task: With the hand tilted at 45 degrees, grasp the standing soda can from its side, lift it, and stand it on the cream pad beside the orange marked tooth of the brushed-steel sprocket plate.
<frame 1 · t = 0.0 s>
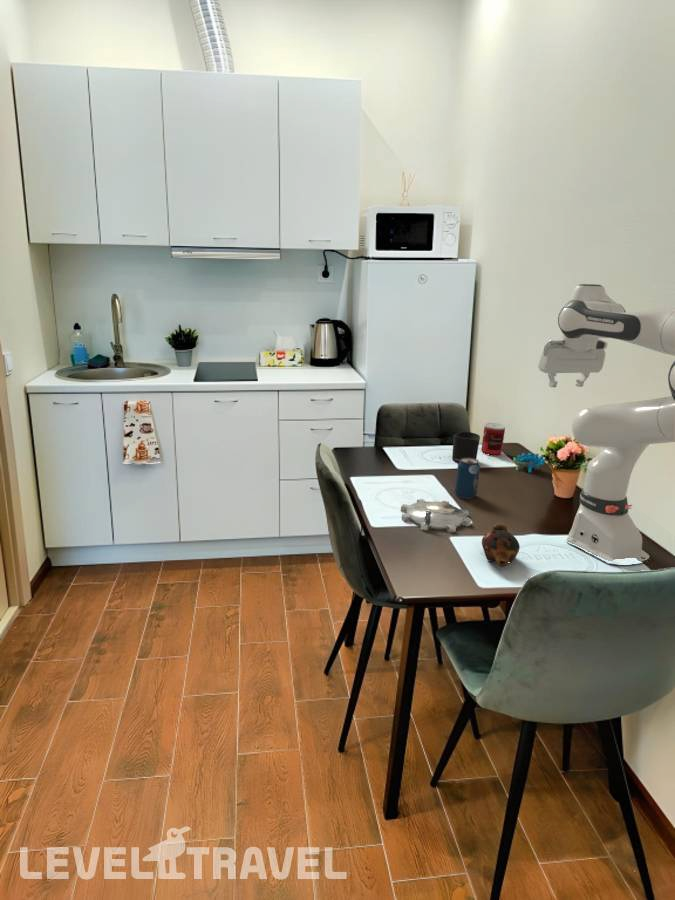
hand: (565, 386, 200), 39 cm above the table, tool pointing down, fingers open, 8 cm apart
canned food: (491, 453, 264), on the table
decorative turtle: (498, 560, 177), on the table
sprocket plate: (435, 517, 200), on the table
soda can: (465, 495, 219), on the table
pen holder: (463, 461, 252), on the table
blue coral: (527, 470, 247), on the table
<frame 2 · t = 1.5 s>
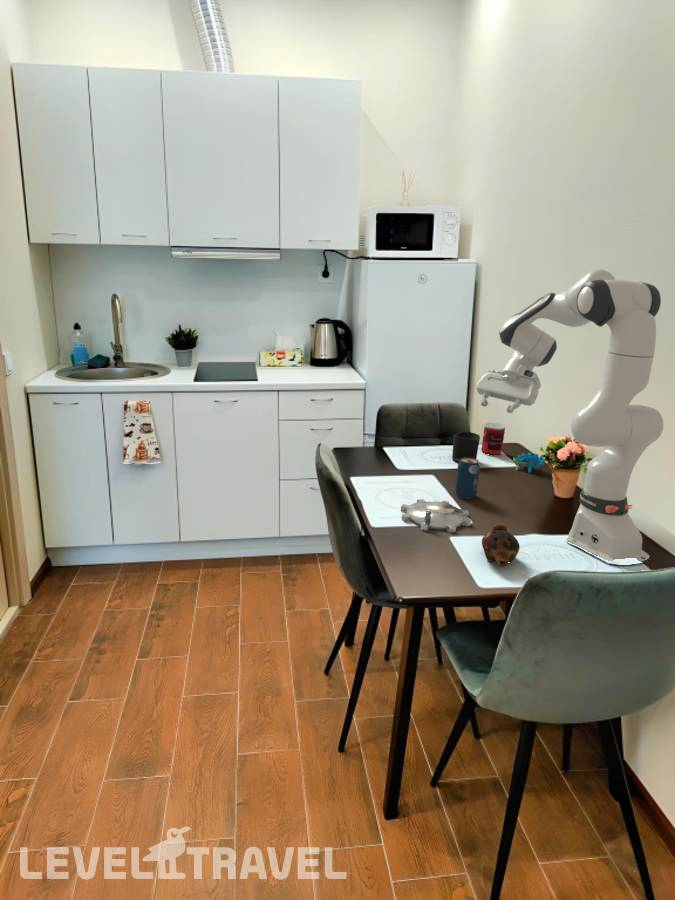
hand: (495, 408, 219), 27 cm above the table, tool tilted 45°, fingers open, 8 cm apart
nothing on the table moved.
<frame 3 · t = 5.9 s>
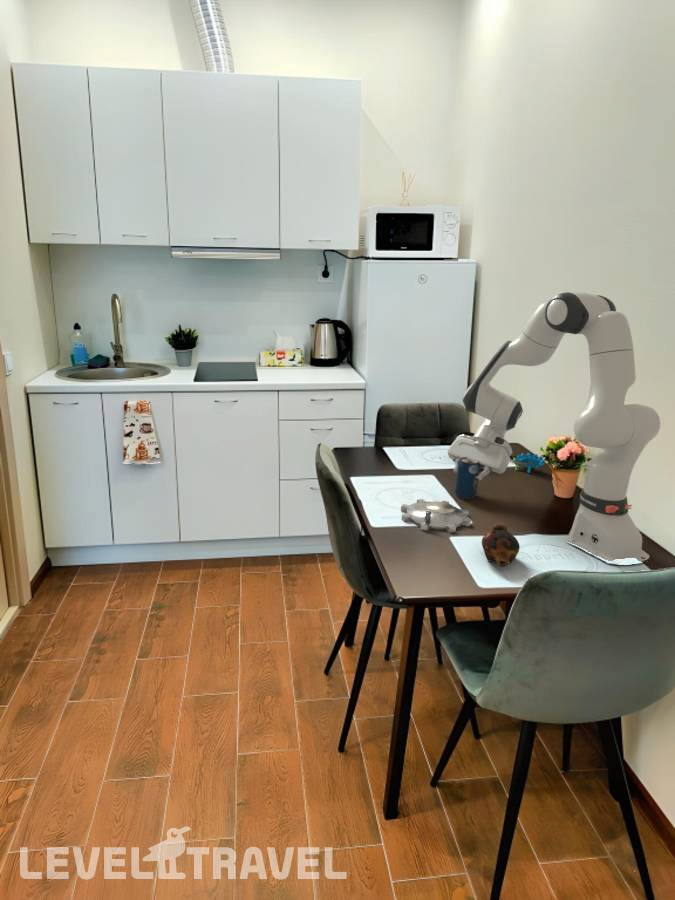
hand: (466, 475, 216), 7 cm above the table, tool tilted 45°, fingers closed on soda can, 7 cm apart
soda can: (465, 495, 219), on the table, touching gripper
everything else where it was.
when the fingers open (10 cm above the table, at t = 12.6 s): soda can moves 1 cm, resting on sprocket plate.
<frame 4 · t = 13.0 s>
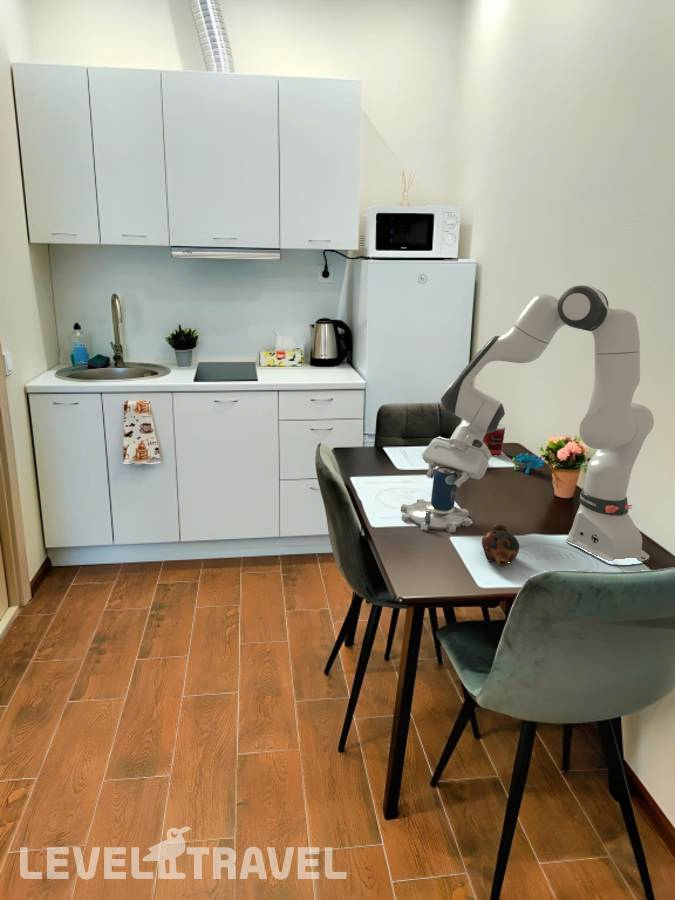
hand: (442, 481, 201), 10 cm above the table, tool tilted 45°, fingers open, 8 cm apart
soda can: (442, 508, 204), point 2 cm above the table, touching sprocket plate
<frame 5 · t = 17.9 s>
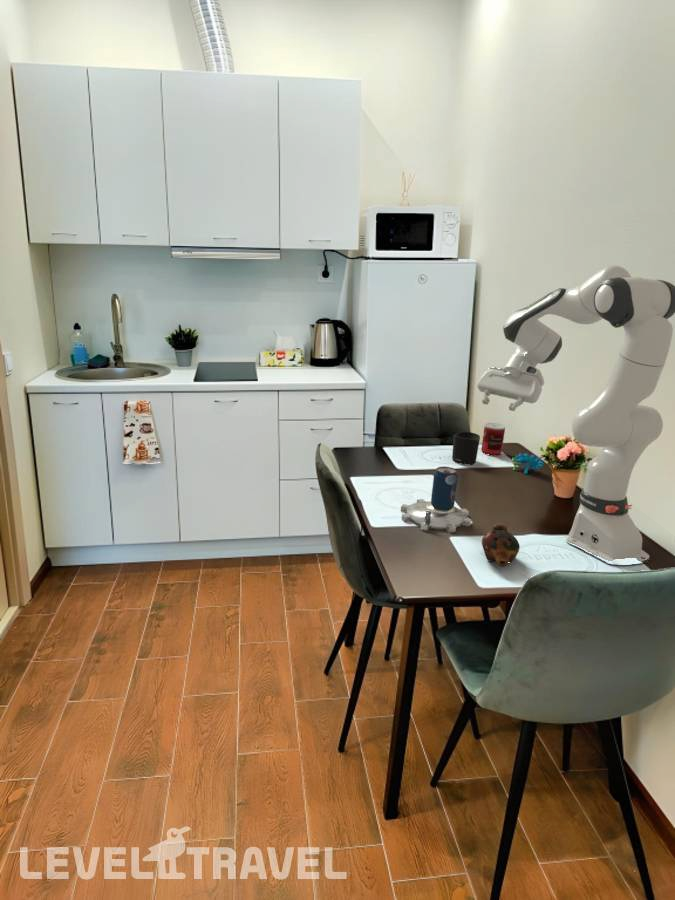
hand: (497, 406, 212), 29 cm above the table, tool tilted 45°, fingers open, 8 cm apart
at the end: soda can 0.6 cm from the target spot on the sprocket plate, point 1.5 cm above the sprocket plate's base; soda can tilted 0°; the gripper is holding nothing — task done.
